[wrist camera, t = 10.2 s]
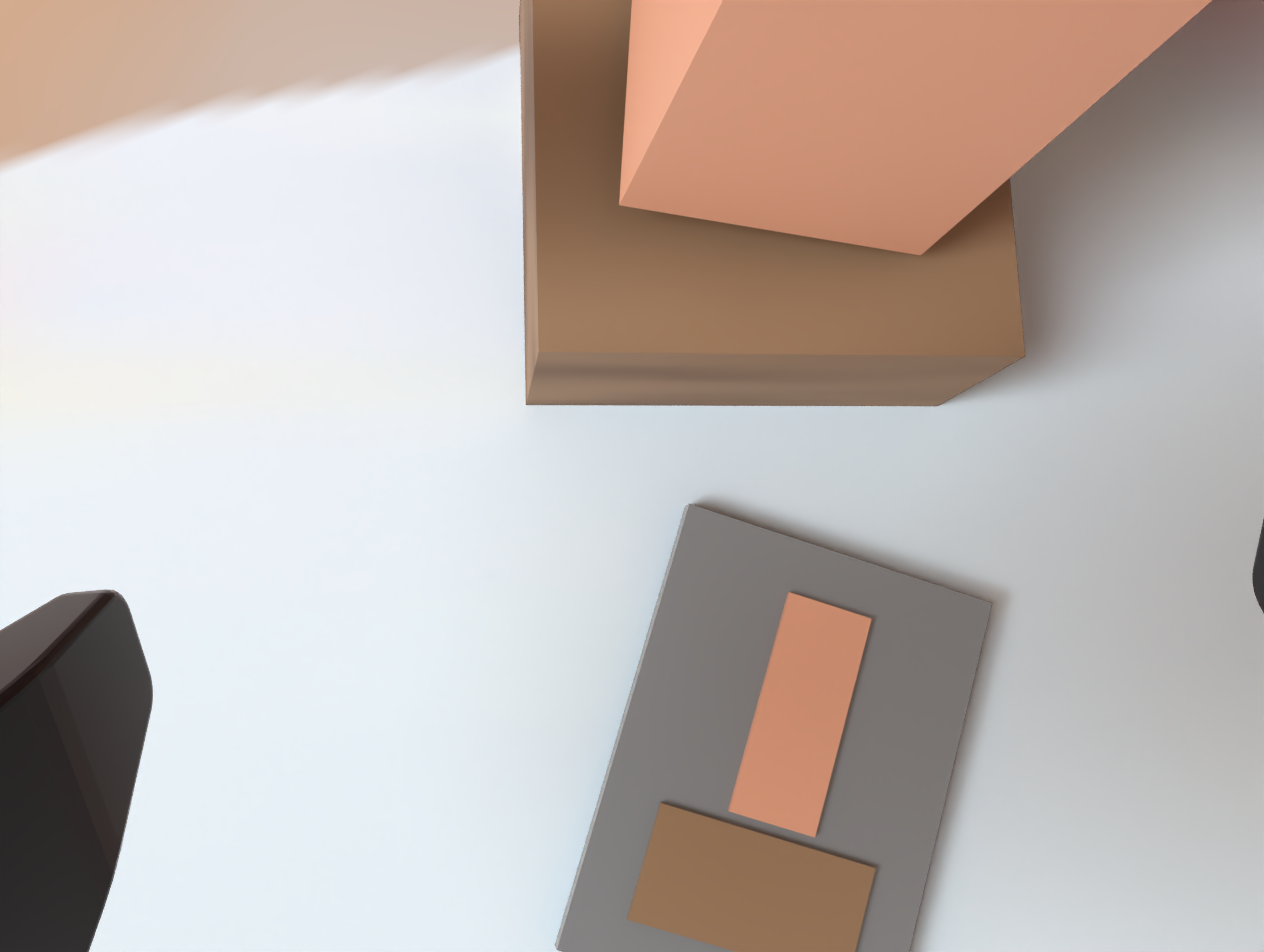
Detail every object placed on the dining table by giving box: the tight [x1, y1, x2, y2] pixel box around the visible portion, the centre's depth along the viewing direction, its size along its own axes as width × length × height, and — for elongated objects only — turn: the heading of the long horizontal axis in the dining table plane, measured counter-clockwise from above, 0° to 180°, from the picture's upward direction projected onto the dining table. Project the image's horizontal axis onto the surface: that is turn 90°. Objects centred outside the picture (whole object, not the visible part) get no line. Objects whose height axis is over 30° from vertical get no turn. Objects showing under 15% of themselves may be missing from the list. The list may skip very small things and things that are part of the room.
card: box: [555, 504, 992, 952], centre depth 21 cm, size 8×6×1 cm
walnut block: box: [519, 0, 1025, 406], centre depth 21 cm, size 8×8×4 cm
